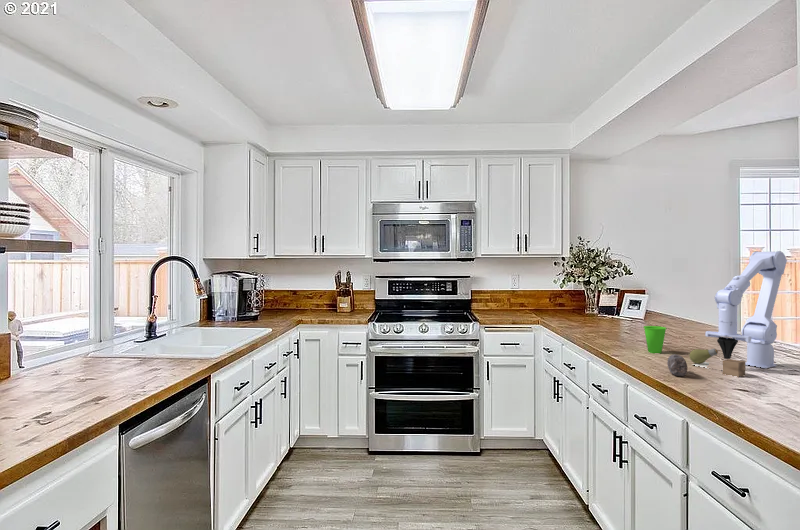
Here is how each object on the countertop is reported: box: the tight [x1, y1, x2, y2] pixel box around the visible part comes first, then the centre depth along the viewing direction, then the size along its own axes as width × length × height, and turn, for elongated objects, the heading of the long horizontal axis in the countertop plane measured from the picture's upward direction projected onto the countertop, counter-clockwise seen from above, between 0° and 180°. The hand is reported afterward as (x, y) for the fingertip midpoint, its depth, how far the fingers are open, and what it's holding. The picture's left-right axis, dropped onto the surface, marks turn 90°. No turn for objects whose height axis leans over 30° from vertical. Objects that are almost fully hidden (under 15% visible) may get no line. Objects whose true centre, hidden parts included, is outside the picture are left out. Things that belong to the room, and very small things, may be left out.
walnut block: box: [722, 358, 746, 378], centre depth 171 cm, size 5×5×5 cm
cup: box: [643, 325, 667, 354], centre depth 211 cm, size 9×9×11 cm
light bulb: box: [688, 348, 719, 364], centre depth 187 cm, size 6×6×10 cm
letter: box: [692, 361, 710, 369], centre depth 183 cm, size 10×14×1 cm
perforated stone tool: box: [666, 354, 688, 377], centre depth 173 cm, size 15×5×7 cm, turn 159°
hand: (727, 358), depth 180 cm, fingers closed
